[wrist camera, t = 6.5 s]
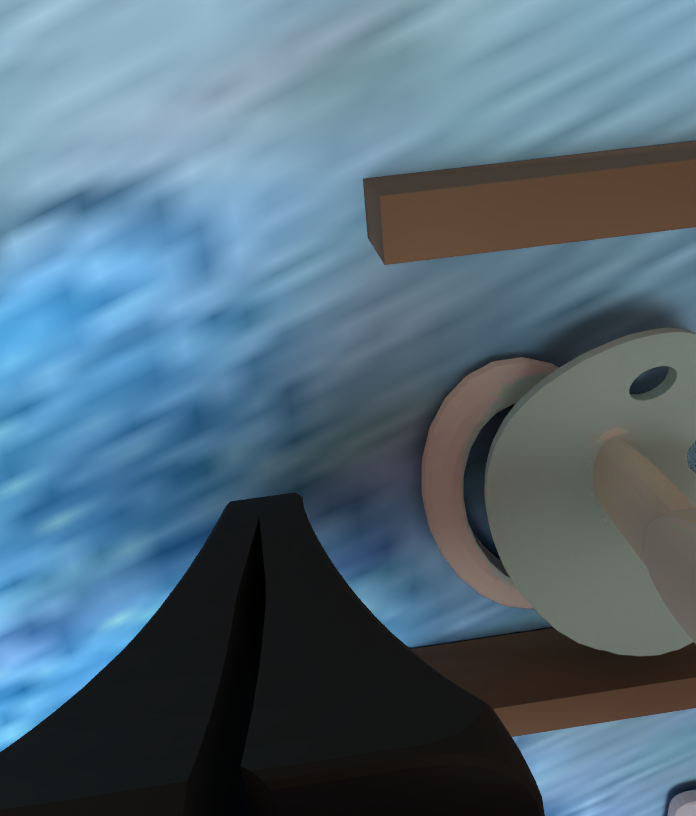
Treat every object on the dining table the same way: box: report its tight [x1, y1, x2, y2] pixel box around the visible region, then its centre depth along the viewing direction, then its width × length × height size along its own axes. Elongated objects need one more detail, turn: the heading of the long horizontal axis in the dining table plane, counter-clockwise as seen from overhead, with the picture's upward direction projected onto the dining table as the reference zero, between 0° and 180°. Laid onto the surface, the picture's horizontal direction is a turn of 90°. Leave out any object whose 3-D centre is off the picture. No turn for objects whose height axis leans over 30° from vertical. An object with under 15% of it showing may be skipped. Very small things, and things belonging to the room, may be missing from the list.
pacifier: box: [422, 327, 696, 656], centre depth 12 cm, size 7×6×6 cm
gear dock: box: [363, 141, 696, 737], centre depth 13 cm, size 12×12×2 cm
